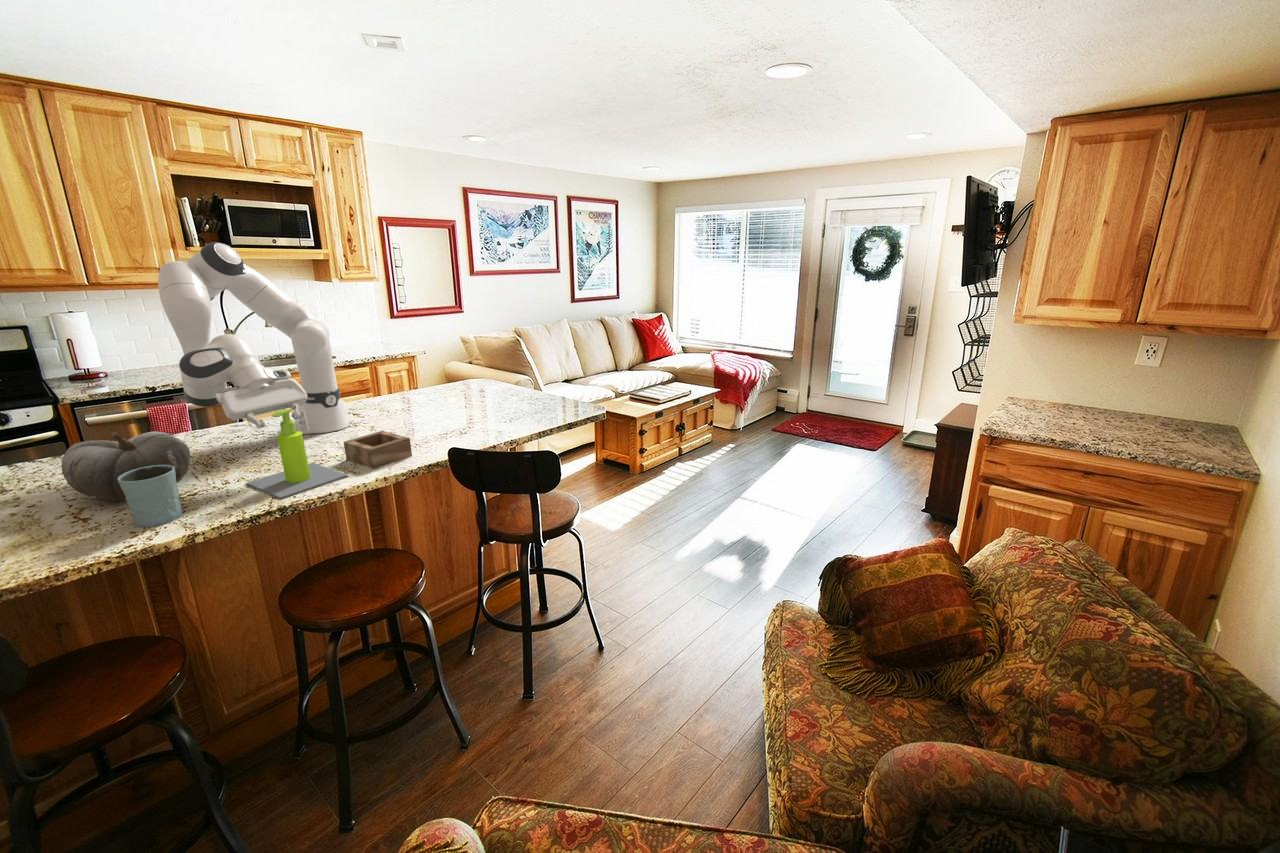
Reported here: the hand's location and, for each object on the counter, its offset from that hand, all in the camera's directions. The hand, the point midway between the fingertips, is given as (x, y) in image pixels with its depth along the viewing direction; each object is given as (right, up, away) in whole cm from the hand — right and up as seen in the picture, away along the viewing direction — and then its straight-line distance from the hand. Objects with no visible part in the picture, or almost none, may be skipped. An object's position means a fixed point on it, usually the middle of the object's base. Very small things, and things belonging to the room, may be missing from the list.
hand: (280, 422), depth 152 cm
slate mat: (+4, -16, +2) cm, 17 cm away
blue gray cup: (-16, -23, -20) cm, 35 cm away
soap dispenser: (+4, -16, +1) cm, 17 cm away
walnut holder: (+18, -11, +19) cm, 29 cm away
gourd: (-35, -18, -4) cm, 40 cm away
